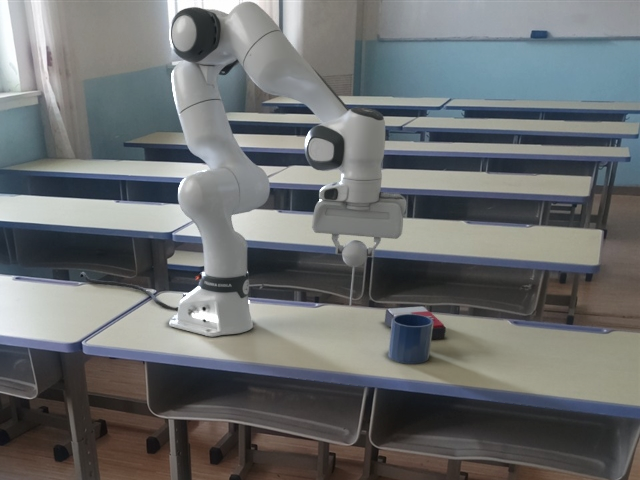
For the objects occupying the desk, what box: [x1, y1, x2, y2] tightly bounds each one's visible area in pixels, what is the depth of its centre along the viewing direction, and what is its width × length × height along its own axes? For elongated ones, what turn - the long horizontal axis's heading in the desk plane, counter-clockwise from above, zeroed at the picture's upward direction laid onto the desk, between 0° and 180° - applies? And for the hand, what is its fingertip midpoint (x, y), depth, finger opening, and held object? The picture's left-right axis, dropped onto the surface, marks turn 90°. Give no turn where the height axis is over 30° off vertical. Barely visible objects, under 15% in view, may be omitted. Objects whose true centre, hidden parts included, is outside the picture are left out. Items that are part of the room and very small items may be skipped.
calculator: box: [384, 306, 447, 340], centre depth 209 cm, size 11×4×15 cm
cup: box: [388, 314, 434, 365], centre depth 192 cm, size 10×10×9 cm
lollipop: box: [341, 239, 369, 307], centre depth 186 cm, size 6×6×15 cm
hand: (354, 255), depth 184 cm, fingers closed on lollipop, 6 cm apart
